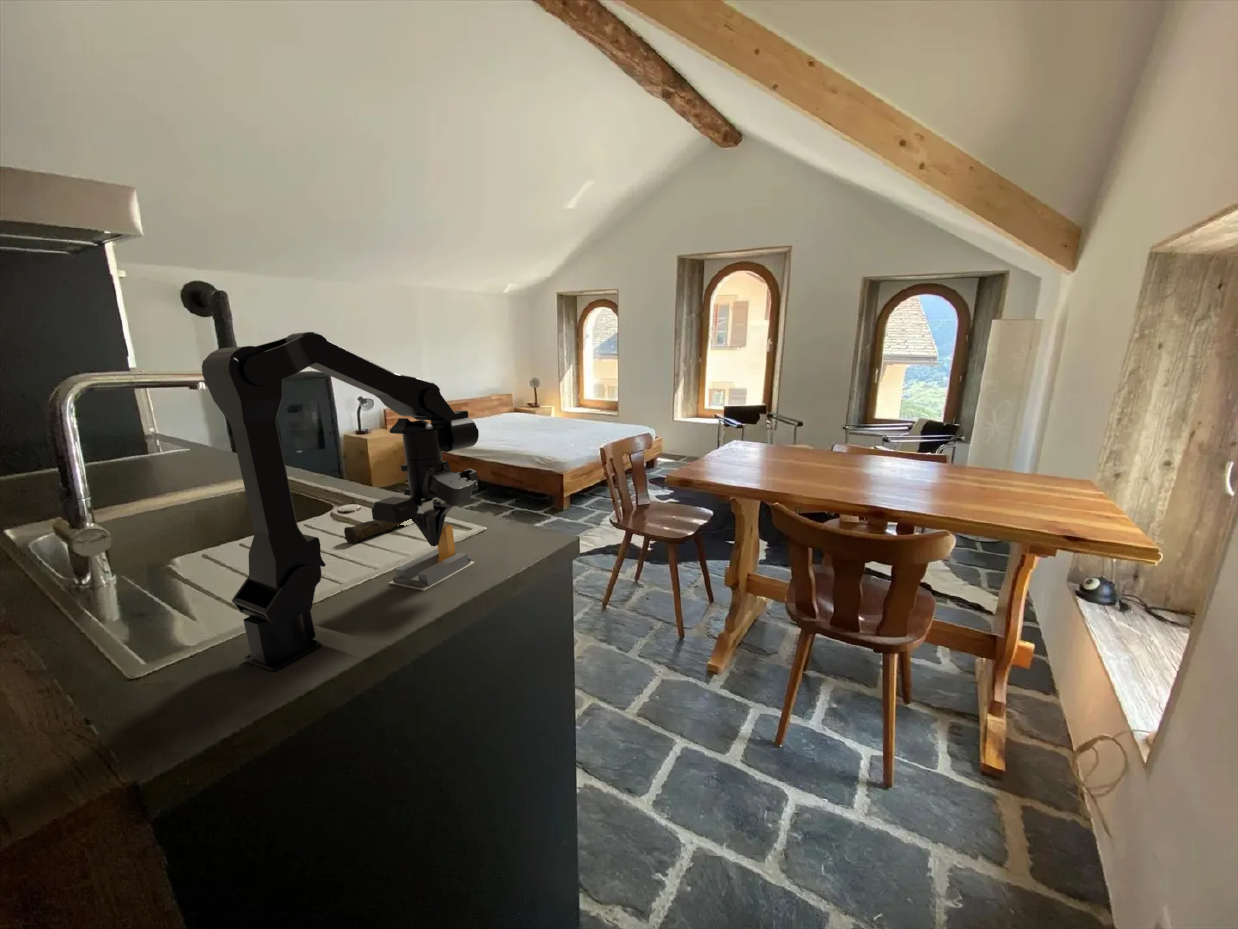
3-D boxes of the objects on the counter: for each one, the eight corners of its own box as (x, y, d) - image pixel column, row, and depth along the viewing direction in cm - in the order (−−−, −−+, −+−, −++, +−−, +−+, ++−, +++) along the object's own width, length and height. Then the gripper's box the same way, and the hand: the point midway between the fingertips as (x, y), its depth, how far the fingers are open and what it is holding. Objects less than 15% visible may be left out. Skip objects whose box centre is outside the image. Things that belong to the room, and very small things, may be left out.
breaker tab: (448, 566, 90) (444, 528, 89) (438, 564, 91) (433, 527, 90) (457, 561, 93) (453, 524, 91) (447, 559, 94) (443, 522, 92)
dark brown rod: (354, 546, 108) (351, 525, 107) (344, 543, 111) (341, 522, 110) (431, 521, 124) (428, 503, 123) (420, 519, 126) (418, 500, 125)
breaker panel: (425, 598, 82) (423, 578, 82) (390, 591, 86) (387, 571, 85) (475, 569, 93) (473, 551, 92) (442, 564, 96) (440, 546, 96)
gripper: (416, 472, 74) (429, 573, 77) (497, 449, 90) (505, 533, 94) (362, 467, 79) (376, 563, 82) (449, 447, 95) (458, 527, 98)
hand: (434, 545), depth 89 cm, fingers closed
